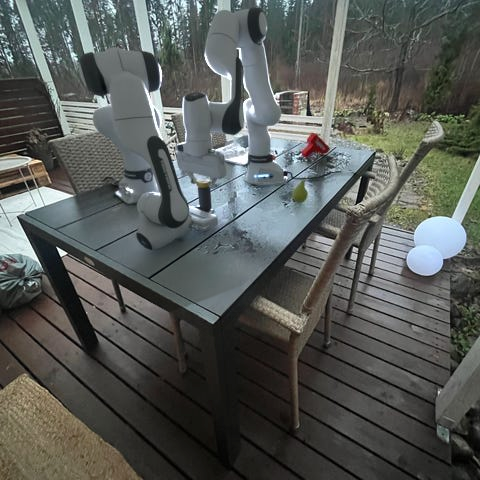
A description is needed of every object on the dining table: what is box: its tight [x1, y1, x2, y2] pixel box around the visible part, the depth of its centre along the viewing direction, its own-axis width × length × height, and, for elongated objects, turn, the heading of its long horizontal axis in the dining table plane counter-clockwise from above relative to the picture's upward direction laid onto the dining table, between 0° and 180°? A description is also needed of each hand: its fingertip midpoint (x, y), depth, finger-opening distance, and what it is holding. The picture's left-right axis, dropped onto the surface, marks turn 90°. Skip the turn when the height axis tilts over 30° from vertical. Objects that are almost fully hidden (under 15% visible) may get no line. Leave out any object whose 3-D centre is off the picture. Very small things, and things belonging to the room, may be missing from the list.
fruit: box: [291, 174, 311, 204], centre depth 118 cm, size 7×8×12 cm
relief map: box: [215, 142, 249, 166], centre depth 183 cm, size 27×35×5 cm
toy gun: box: [300, 132, 330, 159], centre depth 180 cm, size 18×4×15 cm
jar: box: [197, 186, 213, 212], centre depth 103 cm, size 5×5×16 cm
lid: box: [196, 177, 212, 188], centre depth 99 cm, size 5×5×2 cm
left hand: (207, 208), depth 105 cm, fingers closed on jar, 4 cm apart
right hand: (202, 185), depth 100 cm, fingers open, 7 cm apart
